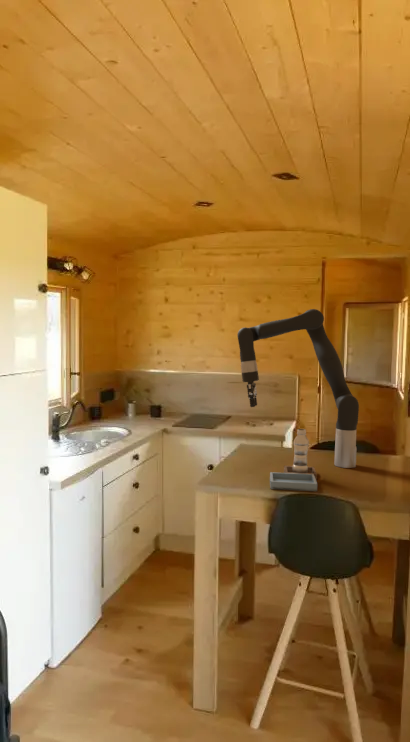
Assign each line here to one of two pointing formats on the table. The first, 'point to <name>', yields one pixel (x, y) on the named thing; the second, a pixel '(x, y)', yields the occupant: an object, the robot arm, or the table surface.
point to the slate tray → (293, 481)
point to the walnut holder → (310, 471)
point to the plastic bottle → (300, 452)
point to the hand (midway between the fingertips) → (253, 406)
